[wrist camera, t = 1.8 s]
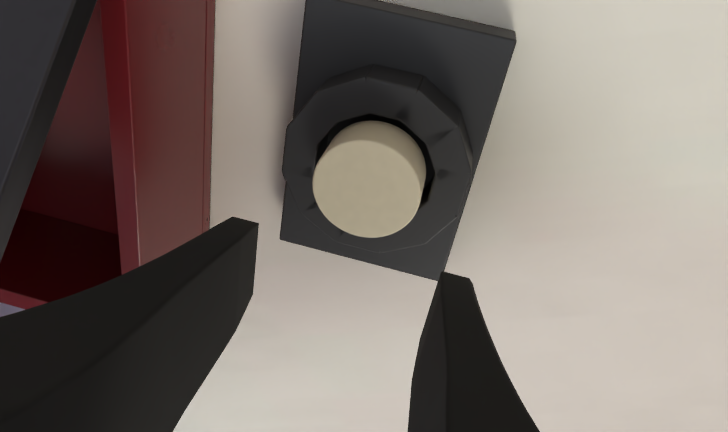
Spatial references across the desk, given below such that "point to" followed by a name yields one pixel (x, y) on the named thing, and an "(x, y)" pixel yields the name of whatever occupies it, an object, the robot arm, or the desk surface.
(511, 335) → the desk surface
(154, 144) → the dark red open box
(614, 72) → the desk surface
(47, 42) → the dark grey box lid
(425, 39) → the control block
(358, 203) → the button
